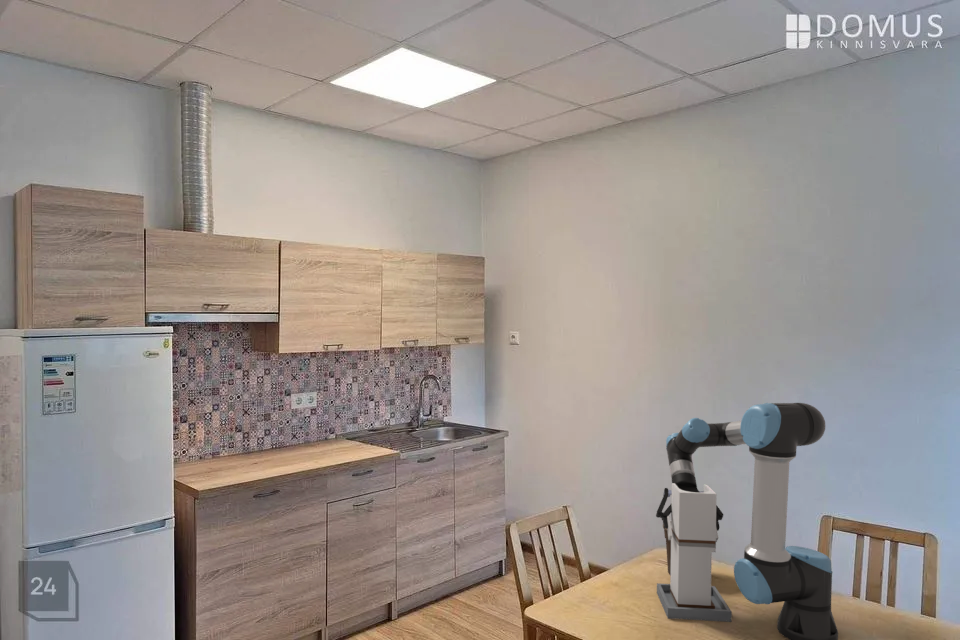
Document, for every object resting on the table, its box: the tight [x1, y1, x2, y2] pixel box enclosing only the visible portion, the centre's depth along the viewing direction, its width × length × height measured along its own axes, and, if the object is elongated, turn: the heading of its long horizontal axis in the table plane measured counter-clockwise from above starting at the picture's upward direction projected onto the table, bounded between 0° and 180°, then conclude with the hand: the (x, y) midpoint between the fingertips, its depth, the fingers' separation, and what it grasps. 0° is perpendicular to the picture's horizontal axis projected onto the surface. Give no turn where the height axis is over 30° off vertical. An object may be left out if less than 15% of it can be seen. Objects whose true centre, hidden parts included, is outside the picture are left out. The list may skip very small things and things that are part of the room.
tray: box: [656, 583, 732, 623], centre depth 198 cm, size 18×18×3 cm
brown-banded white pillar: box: [669, 482, 717, 609], centre depth 198 cm, size 11×11×35 cm
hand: (693, 539), depth 197 cm, fingers open, 13 cm apart
